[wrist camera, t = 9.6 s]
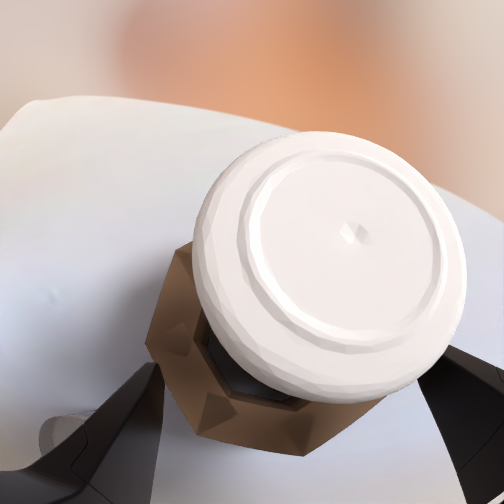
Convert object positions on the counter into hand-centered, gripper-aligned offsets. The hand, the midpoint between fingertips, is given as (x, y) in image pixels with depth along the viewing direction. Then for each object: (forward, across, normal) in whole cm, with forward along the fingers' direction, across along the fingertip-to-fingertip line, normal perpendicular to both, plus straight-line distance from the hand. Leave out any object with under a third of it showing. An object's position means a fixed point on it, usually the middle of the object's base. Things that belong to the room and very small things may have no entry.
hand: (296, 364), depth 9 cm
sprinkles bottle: (+6, 0, +4) cm, 8 cm away
